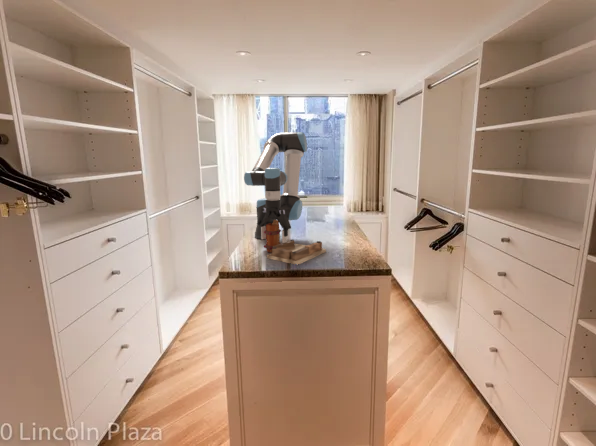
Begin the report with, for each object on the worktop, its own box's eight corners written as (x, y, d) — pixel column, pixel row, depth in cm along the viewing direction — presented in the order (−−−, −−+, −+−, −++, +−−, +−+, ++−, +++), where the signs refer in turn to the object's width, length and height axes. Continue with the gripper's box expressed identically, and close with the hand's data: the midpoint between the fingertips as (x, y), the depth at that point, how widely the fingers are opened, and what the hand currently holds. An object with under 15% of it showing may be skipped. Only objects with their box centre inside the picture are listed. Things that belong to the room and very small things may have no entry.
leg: (318, 248, 163) (318, 240, 162) (323, 249, 161) (323, 241, 161) (304, 253, 155) (304, 245, 154) (309, 254, 153) (309, 246, 152)
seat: (267, 258, 154) (266, 247, 152) (296, 246, 172) (296, 236, 171) (297, 265, 143) (297, 253, 142) (325, 251, 162) (325, 241, 161)
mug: (278, 254, 158) (277, 224, 155) (262, 254, 160) (261, 224, 157) (285, 246, 172) (284, 219, 169) (270, 246, 174) (269, 218, 171)
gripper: (249, 198, 165) (250, 238, 169) (288, 201, 151) (289, 245, 155) (259, 197, 171) (260, 236, 175) (297, 200, 157) (298, 242, 161)
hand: (273, 240), depth 165 cm, fingers open, 13 cm apart
